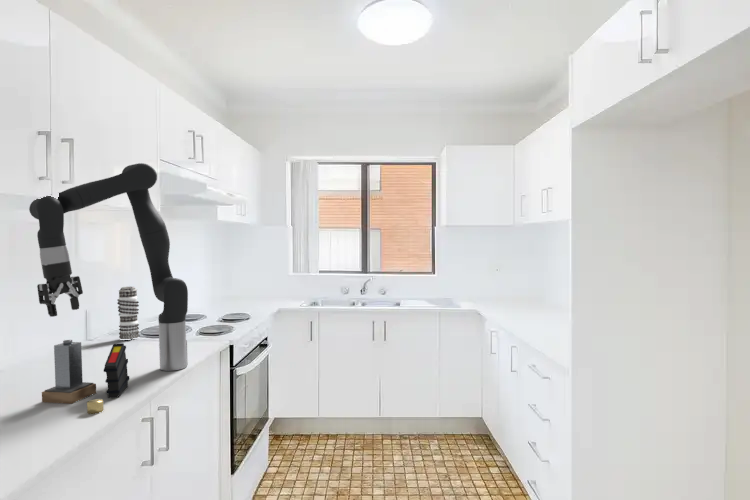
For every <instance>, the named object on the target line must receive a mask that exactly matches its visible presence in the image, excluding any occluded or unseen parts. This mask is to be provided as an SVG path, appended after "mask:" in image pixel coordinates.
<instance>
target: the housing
mask: <svg viewBox="0 0 750 500" xmlns="http://www.w3.org/2000/svg"><path fill="white" fill-rule="evenodd" d="M53 349H54V350H53V352H54V353H53V355H54V359H53V360H54V384H55V386H54V387H56V389H72V388H74V387H77V386H80V385H82V384H83V356H82V355H83V354H82V351H83V350H82V342H81V341H79V342H78V341H73V339H66V340H65V339H64V340H62V343H58V344H55V345H54V346H53Z"/></svg>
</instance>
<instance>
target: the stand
mask: <svg viewBox="0 0 750 500" xmlns="http://www.w3.org/2000/svg"><path fill="white" fill-rule="evenodd" d="M92 394H93V395H95V394H97V383H94V382H88V381H85V382H83V384H82V385H80V386H77V387H74V388H72V389H56V387H55V386H52V387H50V388H47V389H44V391H42V392H41V403H50V404H71V405H72V404H74V403H76V401H77V402H79V401H82V400H84V399H86V398H88V397H90V395H91V396H92ZM87 396H88V397H87ZM85 397H86V398H85ZM83 398H84V399H83ZM78 400H79V401H78Z"/></svg>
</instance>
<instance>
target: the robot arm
mask: <svg viewBox="0 0 750 500" xmlns="http://www.w3.org/2000/svg"><path fill="white" fill-rule="evenodd" d="M157 181H158V173H157V171H156V170H155V168H154V167H153V166H152V165H150V164H147V163H142V162H141V163H140V162H139V163H135V164H129V165H127V166H125V167H124V168H123V170H122V172H121V173H118V174H117V175H113V176H110V177H106V178H103V179H98V180H94V181H90V182H86V183H83V184H80V185H76V186H73V187H70V188H68V189H65V190H63V191H61V192H58V193H59V197H58V199H56V198H54V197H51V196H48V195H46V197H45V196H42V197H43V198H41V197H40V198H41V199H38V198H36V200H35V199H34V200H33V201H32V202H31V203H30V204H29V208H28V209H29V213H30V215H31V216H32V217H33V218H34V219H36V220H38V224H39V230H38V231H37V235H36V236H37V241H38V242H37V243H38V247H39V258H40V264H41V270H42V275H43V278H44V279H45V280H46V282H45V283H38V284H37V286H36V288H37V294H38V301H39V302H38V303H39V304H40V305H46V308H47V309H46V310H47V314H48V316H49V317H50V318H51V317H57V316H58V310H57V306H56V300H57V298H59V296H60V295H63V294H66V295H67V296H68V297H69V301H70V307H71V310H72V311H75V310H77V311H78V310H79V309H80V302H79V297H80V296H81V295H83V293H84V292H83V287H82V282H81V278H80V276H79V275H77V276H75V275H74V276H71V275H72V274H73V271H72V265H71V259H70V254H69V250H68V248H67V242H66V238H65V237H66V236H65V232H64V225H65V216H64V215H65V214H66V213H69V212H73V211H78V210H79V211H80V210H81V209H84V208H87V207H90V206H94V205H95V204H98V203H100V202H103V201H106V200H108V199H110V198H113V197H116V196H119V195H123V194H126V195H127V197H128V198H127V199H129V200H128V201H129V203H130V206H131V209H132V213H133V215H134V219H135V223H136V227H137V231H138V233H139V234H138V235H139V238H140V241H141V244H142V247H143V250H144V254H145V258H146V261H147V264H148V267H149V272H150V278H151V283H152V284H151V285H152V290H153V294H154V296H155V298H156V299H157V300H159V302H162V303H163V308H162V309H163V310H162V312H161V313H160V314H159V315H158V342H159V343H158V347H159V349H158V350H159V370H160V371H164V372H166V371H167V372H168V371H169V372H170V371H178V370H184V369H185V368H187V367H188V363H189V362H188V361H189V360H188V340H187V329H186V328H187V327H186V325H187V324H186V318H187V317H186V316H187V314H188V311H189V310H188V307H189V306H188V304H189V303H188V302H189V292H188V291H189V289H188V286H187V283H186V282H185V281H184V280H183V279H181V278H175V277H173V274H172V271H171V269H170V264H169V254H170V249H171V248H170V245H171V244H170V243H171V241H170V237H169V233H168V230H167V226H166V223H165V221H164V219H163V217H162V216H161V214H160V213H159V211H158V210H157V209H156V207H155V205H154V203H153V202H152V199H151V196H150V192H149V191H150V190H149V189H151V188H152V187H153V186H155V184H156V183H157Z"/></svg>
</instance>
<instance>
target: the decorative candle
mask: <svg viewBox="0 0 750 500" xmlns="http://www.w3.org/2000/svg"><path fill="white" fill-rule="evenodd" d="M137 291H138V289H137V288H136V287H135V286H123V287H120V290H118V299H117V302H116V303H117V305H118V306H117V309H118V310H117V311H118V316H119V325H118V327H119V329H118V331H119V333H118V334H119V337H118V338H119V340H120V339H133V338H138V337H139V336H140V334H139V333H140V331H139V329H140V327H139V326H140V324H139V320H138V315H139V311H140V310H139V309H138V307H139V306H140V304H139V303H140V302H139V301H138V295H137V294H138V293H137Z"/></svg>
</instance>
